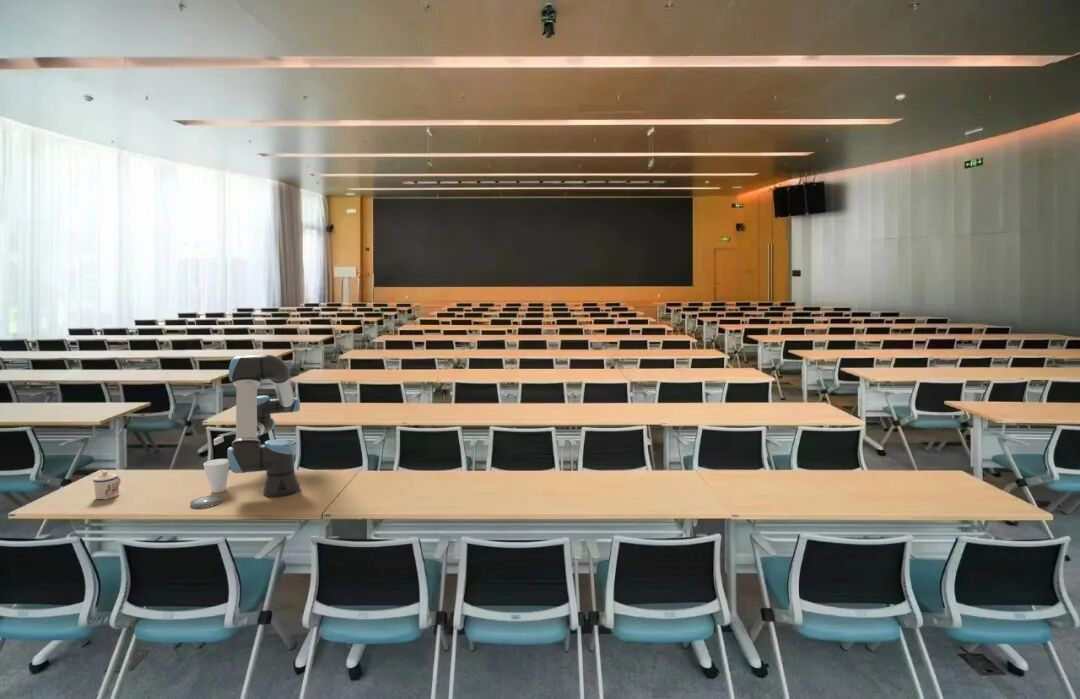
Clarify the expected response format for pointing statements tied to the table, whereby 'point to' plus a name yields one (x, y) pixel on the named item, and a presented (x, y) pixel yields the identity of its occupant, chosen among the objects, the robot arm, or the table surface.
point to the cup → (217, 474)
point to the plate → (205, 501)
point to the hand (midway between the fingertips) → (228, 442)
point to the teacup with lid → (106, 485)
